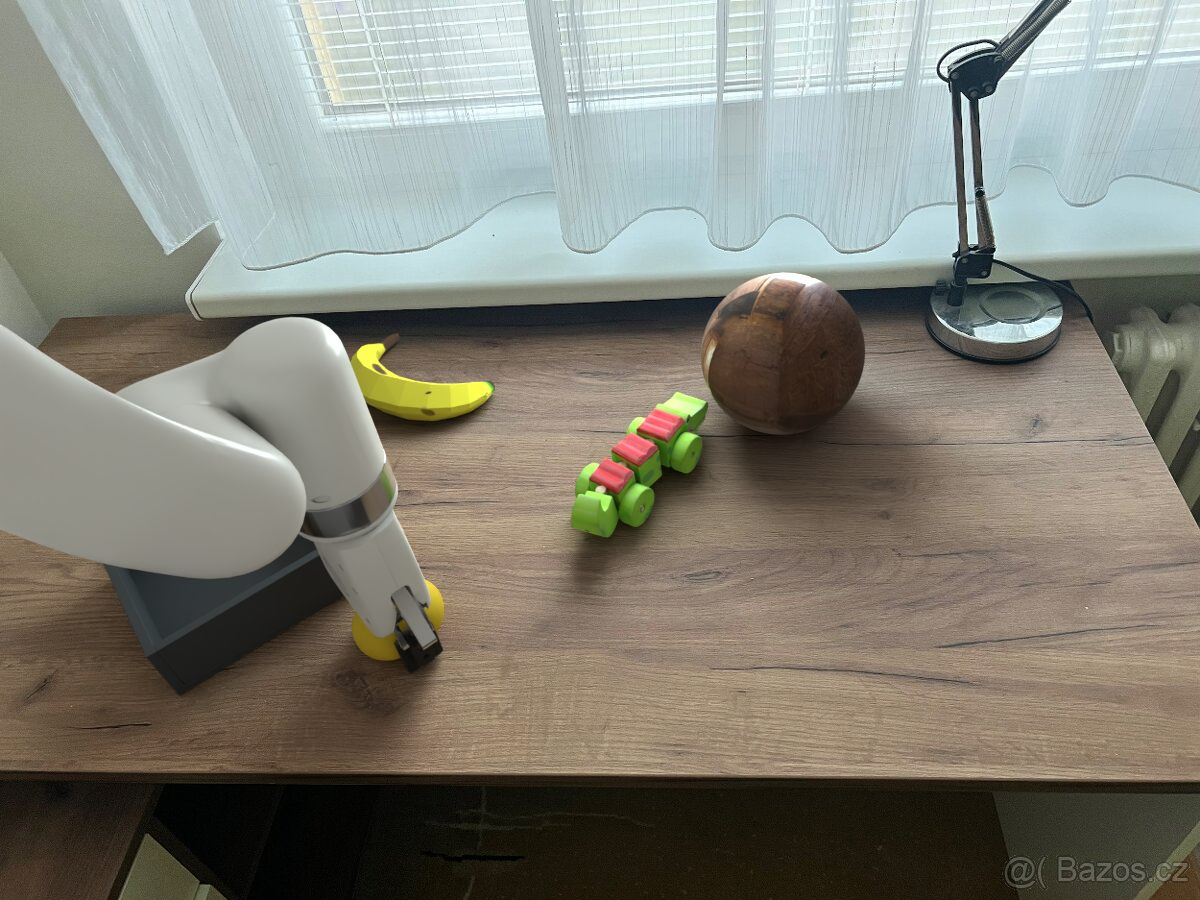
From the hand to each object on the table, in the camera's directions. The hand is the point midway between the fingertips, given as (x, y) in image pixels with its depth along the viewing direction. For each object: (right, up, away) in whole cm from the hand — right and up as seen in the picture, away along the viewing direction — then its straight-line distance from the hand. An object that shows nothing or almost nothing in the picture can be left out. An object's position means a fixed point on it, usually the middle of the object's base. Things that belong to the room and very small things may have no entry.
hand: (405, 633), depth 72 cm
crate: (-16, +4, +7) cm, 18 cm away
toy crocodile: (+20, +12, +10) cm, 26 cm away
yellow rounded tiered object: (0, 0, 0) cm, 1 cm away
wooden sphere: (+34, +19, +15) cm, 41 cm away
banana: (-3, +22, +24) cm, 33 cm away
